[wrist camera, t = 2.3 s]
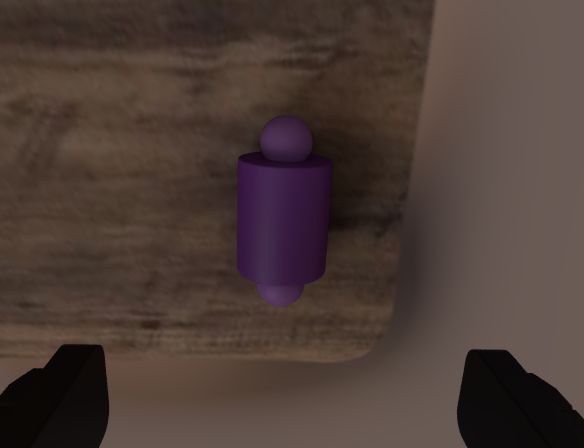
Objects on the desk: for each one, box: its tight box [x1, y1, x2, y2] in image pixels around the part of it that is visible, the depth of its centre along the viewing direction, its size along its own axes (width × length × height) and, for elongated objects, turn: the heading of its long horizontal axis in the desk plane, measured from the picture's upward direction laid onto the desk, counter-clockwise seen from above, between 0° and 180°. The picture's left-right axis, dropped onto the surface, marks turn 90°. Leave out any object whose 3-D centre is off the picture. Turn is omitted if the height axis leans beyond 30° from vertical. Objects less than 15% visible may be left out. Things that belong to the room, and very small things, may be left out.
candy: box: [237, 115, 333, 306], centre depth 20 cm, size 9×4×4 cm, turn 178°
